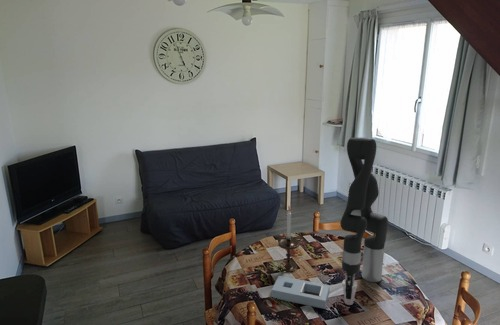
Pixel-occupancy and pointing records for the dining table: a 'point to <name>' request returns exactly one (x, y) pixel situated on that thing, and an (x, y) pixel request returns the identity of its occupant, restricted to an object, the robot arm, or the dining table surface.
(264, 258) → the dining table surface
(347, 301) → the smoothie
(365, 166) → the robot arm
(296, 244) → the candlestick
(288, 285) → the socket block
